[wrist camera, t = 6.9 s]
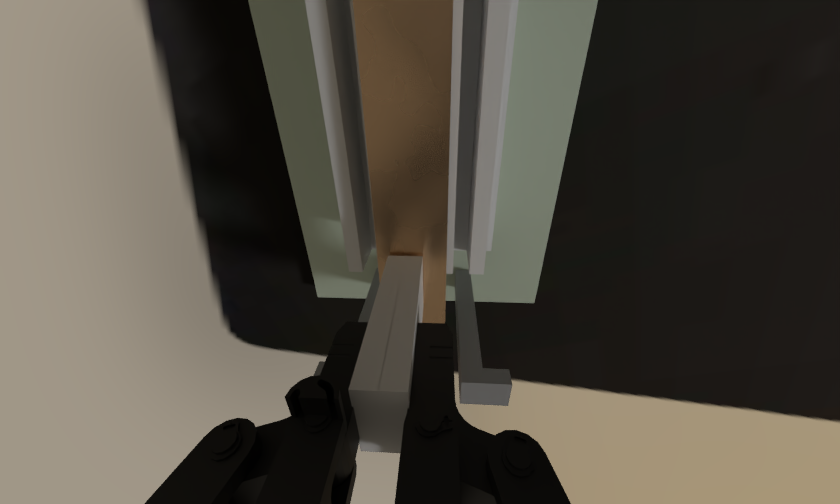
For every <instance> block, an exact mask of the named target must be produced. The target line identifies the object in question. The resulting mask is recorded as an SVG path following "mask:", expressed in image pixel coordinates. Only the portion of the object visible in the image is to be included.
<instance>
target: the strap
mask: <svg viewBox="0 0 840 504" xmlns="http://www.w3.org/2000/svg"><path fill="white" fill-rule="evenodd" d="M353 8H354V19H355V29H356V40H357V50H358V61H359V71H360V82H361V92H362V103H363V113H364V123H365V134H366V144H367V155H368V165H369V176H370V186H371V197H372V207H373V218H374V228H375V239H376V249H377V260H378V270H379V281H381V278H382V274H383V271H384V268H385V264H386V261H387V258H388V256H423V318H422V323H445V303H446V264H447V225H448V186H449V147H450V107H451V68H452V29H453V0H353Z"/></svg>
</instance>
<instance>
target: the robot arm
mask: <svg viewBox="0 0 840 504" xmlns="http://www.w3.org/2000/svg"><path fill="white" fill-rule="evenodd" d="M422 318H423V256H388V258H387V261H386V264H385V268H384V271H383V274H382V278H381V281H380V285H379V288H378V291H377V295H376V298H375V301H374V305H373V308H372V312H371V315H370V318H369V322H346V323H345V324H344V325H343V326H342V327H341V329H340V330H339V331H338V332H337V334H336V336H335V339H334V341H333V344H332V346H331V349H330V351H329V353H328V357H327V358H326V361H325V363H324V366H323V368H322V371H321V373H320V375H317V376H310V377H308V378H305V379H303V380H301V381H299V382H298V383H297V384H295V385H294V386H293V387H292V388H291V389H290V390H289V392H288V393H287V394H286V396H285V399H286V402H287V405H288V407H289V410H290V413H291V416H290V417H288V418H286V419H283V420H280V421H277V422H273V423H269V424H265V425H262V426H259V427H255V425H254V423H252V422H251V421H249V420H248V419H243V418H236V419H232V420H228V421H225V422H224V423H222V424H220V425H219V426H216V427H215V428H214V429H212V430H211V431H210V432H209V433H208V434H207V435H206V436H205V437H204V438H203V439H202V440H201V441H200V442H199V443H198V444H197V446H196V447H195V448H194V449H193V450H192V451H191V452H190V453H189V455H188V456H187V457H186V458H185V459H184V460H183V461H182V462H181V463H180V465H179V466H178V467H177V468H176V469H175V470H174V471H173V472H172V474H171V475H170V476H169V477H168V478H167V479H166V480H165V481H164V483H163V484H162V485H161V486H160V487H159V488H158V489H157V490H156V491H155V493H154V494H153V495H152V496H151V497H150V498H149V499H148V500H147V502H146V503H145V504H350V501H351V497H352V492H353V487H354V482H355V478H356V460H355V458H356V453H357V449H358V445H359V444H360V449H361V451H370V452H388V453H389V452H390V453H400V462H399V471H398V481H397V489H396V498H395V504H571V503H570V501H569V499H568V497H567V495H566V493H565V491H564V489H563V487H562V485H561V483H560V481H559V479H558V477H557V475H556V473H555V471H554V469H553V467H552V465H551V463H550V461H549V460H548V458H547V455H546V453H545V452H544V451H543V449H542V448H541V446H540V445H539V443H538V442H537V441H535V440H534V439H532V438H531V437H530V436H529V435H527V434H525V433H522V432H520V431H517V430H505V431H503V432H501V433H498V434H496V435H492V434H490V433H487V432H485V431H482V430H479V429H477V428H475V427H473V426H471V425H470V424H469V423H468V422H466V421H465V420H464V419H463V417H462V416H461V415H460V414H459V412H458V409H457V407H456V403H455V390H454V364H453V340H452V333H451V331H450V330H449V328H448V326H447V324H446V323H422Z"/></svg>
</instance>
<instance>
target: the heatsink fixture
mask: <svg viewBox="0 0 840 504" xmlns="http://www.w3.org/2000/svg"><path fill="white" fill-rule="evenodd" d="M248 2H249V6H250V10H251V15H252V19H253V23H254V27H255V32H256V36H257V40H258V44H259V49H260V53H261V57H262V61H263V66H264V70H265V74H266V78H267V83H268V87H269V91H270V95H271V100H272V104H273V108H274V112H275V117H276V121H277V125H278V129H279V134H280V138H281V142H282V146H283V151H284V155H285V159H286V163H287V168H288V172H289V176H290V180H291V185H292V189H293V193H294V198H295V202H296V206H297V210H298V215H299V219H300V223H301V227H302V232H303V236H304V240H305V244H306V249H307V253H308V257H309V261H310V266H311V270H312V274H313V278H314V283H315V287H316V291H317V295H318V297H334V298H366V300H365V303H364V306H363V309H362V312H361V315H360V318H359V321H358V322H369V318H370V315H371V312H372V308H373V305H374V301H375V298H376V295H377V291H378V288H379V285H380V281H379V270H378V260H377V249H376V239H375V228H374V218H373V207H372V197H371V186H370V176H369V165H368V155H367V144H366V134H365V123H364V113H363V103H362V92H361V82H360V71H359V61H358V50H357V40H356V29H355V19H354V8H353V0H248ZM597 2H598V0H453V29H452V68H451V107H450V147H449V186H448V225H447V264H446V301H455V305H456V327H457V349H458V371H459V391H460V403H463V404H483V405H503V406H508V403H509V398H510V393H511V388H512V382H511V377H510V372H509V369H485V368H482V361H481V353H480V345H479V337H478V329H477V321H476V313H475V305H474V301H479V302H515V303H534V302H535V297H536V293H537V288H538V283H539V278H540V273H541V269H542V264H543V259H544V254H545V250H546V245H547V240H548V235H549V231H550V226H551V221H552V216H553V212H554V207H555V202H556V197H557V193H558V188H559V183H560V178H561V174H562V169H563V164H564V159H565V155H566V150H567V145H568V140H569V135H570V131H571V126H572V121H573V116H574V112H575V107H576V102H577V97H578V93H579V88H580V83H581V78H582V74H583V69H584V64H585V59H586V55H587V50H588V45H589V40H590V36H591V31H592V26H593V21H594V16H595V12H596V7H597ZM324 363H325V362H319V365H318V367H317V369H316V371H315V374H314V376H317V375H320V373H321V371H322V368H323V366H324Z"/></svg>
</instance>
